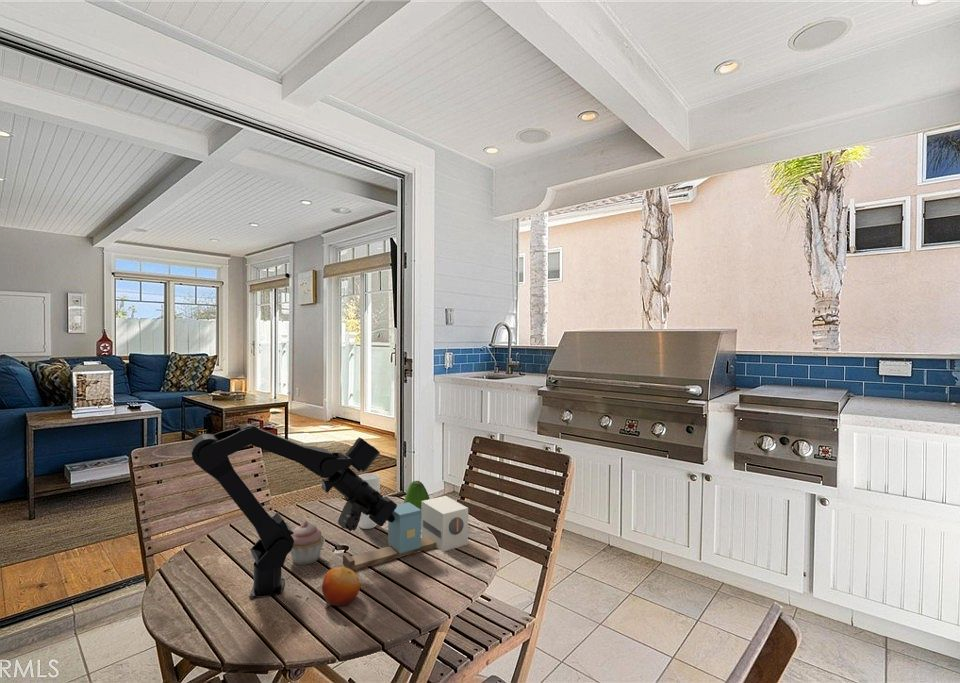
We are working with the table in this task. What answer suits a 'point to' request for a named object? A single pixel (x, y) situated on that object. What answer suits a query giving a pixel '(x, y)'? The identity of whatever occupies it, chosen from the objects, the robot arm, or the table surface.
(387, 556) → the rail
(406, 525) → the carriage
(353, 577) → the fruit
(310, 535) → the cupcake
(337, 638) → the table surface
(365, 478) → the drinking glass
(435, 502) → the cabinet
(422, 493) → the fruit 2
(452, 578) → the table surface
